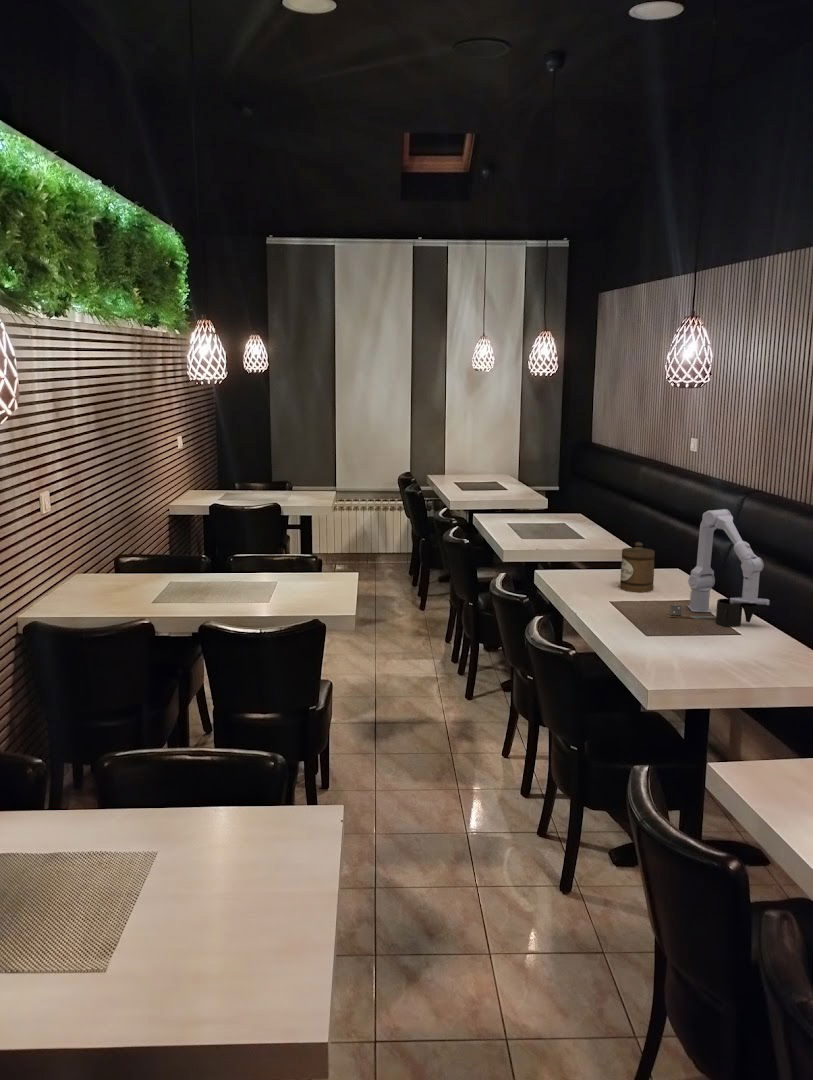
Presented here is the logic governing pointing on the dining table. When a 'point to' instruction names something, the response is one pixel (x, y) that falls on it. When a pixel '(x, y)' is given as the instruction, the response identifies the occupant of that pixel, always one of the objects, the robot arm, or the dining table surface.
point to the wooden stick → (692, 616)
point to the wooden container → (637, 569)
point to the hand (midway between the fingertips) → (747, 621)
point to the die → (675, 610)
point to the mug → (728, 613)
